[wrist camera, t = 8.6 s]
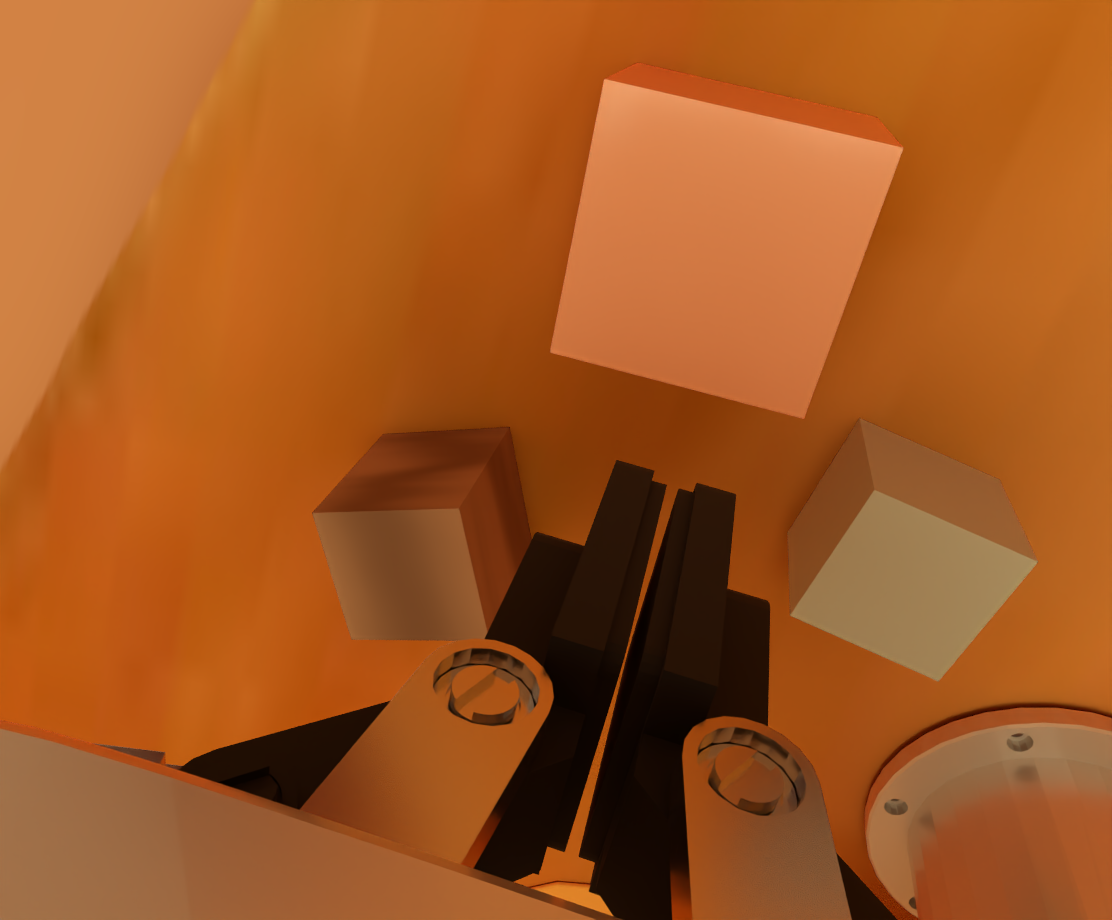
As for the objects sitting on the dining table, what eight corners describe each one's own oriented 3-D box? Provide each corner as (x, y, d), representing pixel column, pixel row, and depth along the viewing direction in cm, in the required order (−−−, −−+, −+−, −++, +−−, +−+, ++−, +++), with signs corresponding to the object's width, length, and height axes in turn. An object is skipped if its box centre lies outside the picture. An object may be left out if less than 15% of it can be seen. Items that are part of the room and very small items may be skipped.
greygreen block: (998, 478, 29) (1038, 561, 25) (915, 588, 32) (938, 681, 27) (859, 416, 29) (874, 489, 25) (787, 531, 32) (789, 615, 28)
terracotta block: (876, 116, 25) (903, 148, 20) (798, 342, 29) (803, 418, 24) (637, 62, 26) (604, 79, 21) (588, 289, 29) (550, 352, 24)
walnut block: (509, 426, 32) (458, 508, 27) (532, 544, 34) (489, 641, 29) (384, 433, 34) (312, 512, 28) (413, 546, 36) (351, 639, 30)
